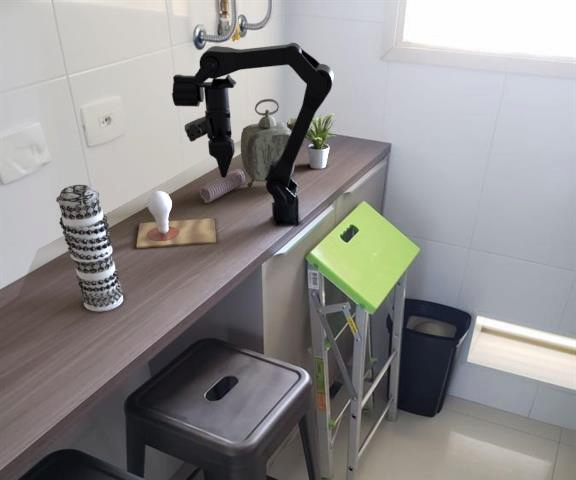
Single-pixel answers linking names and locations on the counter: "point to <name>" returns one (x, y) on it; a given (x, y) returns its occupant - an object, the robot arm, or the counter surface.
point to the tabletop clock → (263, 144)
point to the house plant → (318, 143)
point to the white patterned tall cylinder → (90, 247)
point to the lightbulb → (160, 209)
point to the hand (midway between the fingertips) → (222, 170)
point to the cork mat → (177, 233)
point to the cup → (291, 123)
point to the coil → (222, 185)
